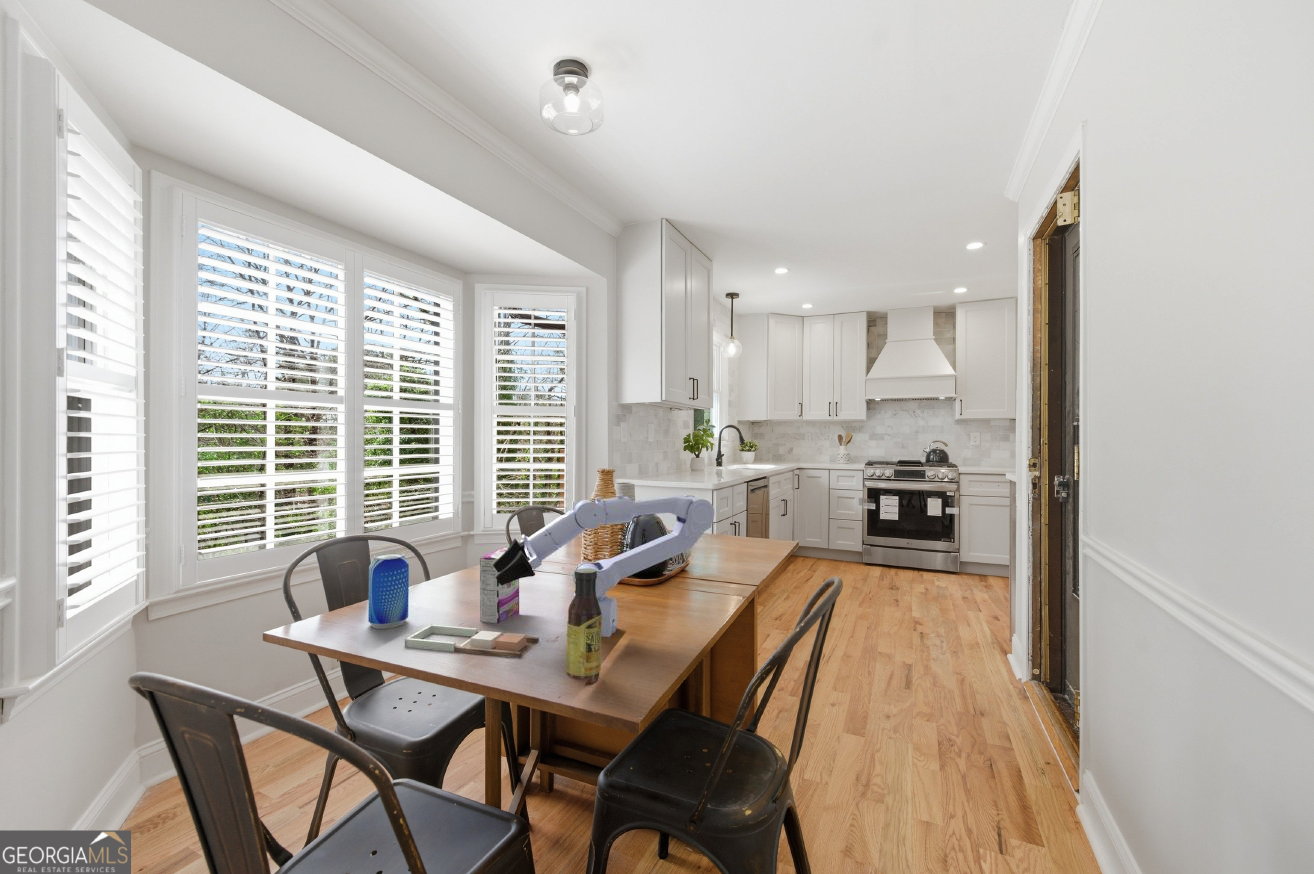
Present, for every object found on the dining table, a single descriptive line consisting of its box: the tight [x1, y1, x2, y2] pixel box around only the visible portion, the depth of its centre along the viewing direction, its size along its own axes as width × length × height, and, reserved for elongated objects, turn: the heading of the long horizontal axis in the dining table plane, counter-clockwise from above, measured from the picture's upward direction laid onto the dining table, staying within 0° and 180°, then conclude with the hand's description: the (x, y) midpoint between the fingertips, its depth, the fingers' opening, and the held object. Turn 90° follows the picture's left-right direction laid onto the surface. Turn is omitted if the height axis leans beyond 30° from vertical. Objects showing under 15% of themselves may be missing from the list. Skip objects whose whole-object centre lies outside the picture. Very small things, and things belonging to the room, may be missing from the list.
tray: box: [404, 624, 478, 652], centre depth 118 cm, size 11×9×3 cm
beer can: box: [367, 552, 410, 630], centre depth 132 cm, size 8×8×16 cm
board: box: [453, 631, 540, 659], centre depth 115 cm, size 14×9×2 cm, turn 78°
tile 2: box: [496, 632, 527, 652], centre depth 115 cm, size 4×4×2 cm
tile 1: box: [469, 630, 503, 649], centre depth 116 cm, size 4×4×2 cm
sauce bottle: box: [565, 568, 602, 686], centre depth 104 cm, size 6×6×20 cm
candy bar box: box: [479, 547, 520, 624], centre depth 135 cm, size 11×5×16 cm, turn 168°
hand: (496, 574), depth 120 cm, fingers open, 7 cm apart
